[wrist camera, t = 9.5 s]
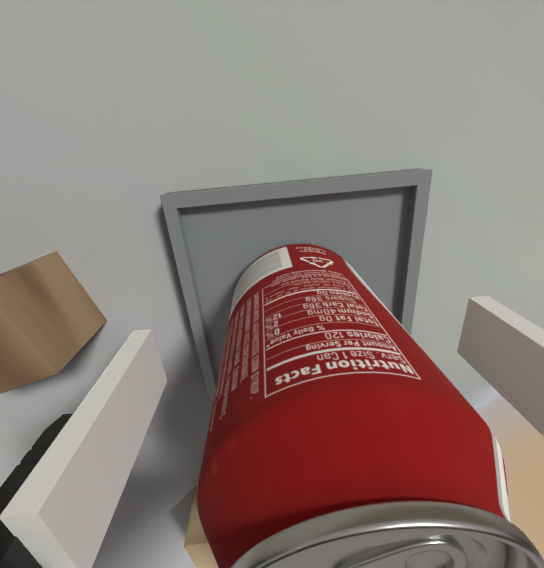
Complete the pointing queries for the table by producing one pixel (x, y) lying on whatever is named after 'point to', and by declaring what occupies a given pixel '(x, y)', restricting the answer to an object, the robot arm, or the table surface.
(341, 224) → the tray
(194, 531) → the oak block
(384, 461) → the soda can
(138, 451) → the robot arm
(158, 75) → the table surface
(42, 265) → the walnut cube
